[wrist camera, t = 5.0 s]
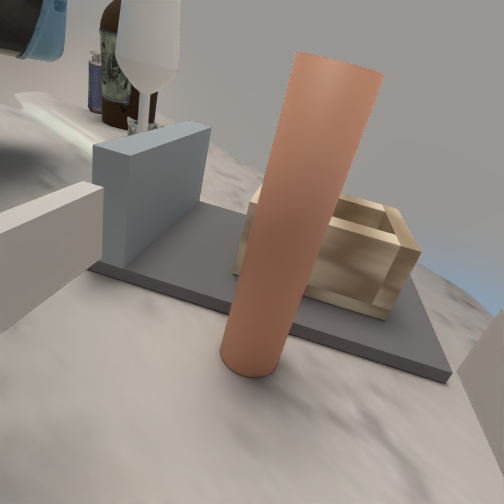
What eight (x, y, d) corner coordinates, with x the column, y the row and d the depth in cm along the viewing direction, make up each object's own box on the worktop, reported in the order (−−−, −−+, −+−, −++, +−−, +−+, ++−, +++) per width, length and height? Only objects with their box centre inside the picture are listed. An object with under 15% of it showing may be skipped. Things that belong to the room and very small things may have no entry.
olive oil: (126, 116, 73) (134, -30, 61) (167, 131, 70) (184, -20, 58) (85, 117, 64) (85, -54, 52) (130, 134, 61) (140, -44, 49)
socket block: (371, 265, 34) (397, 209, 31) (384, 320, 26) (421, 252, 23) (254, 230, 34) (269, 172, 32) (232, 273, 26) (249, 201, 24)
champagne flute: (110, 180, 40) (120, -92, 29) (110, 162, 45) (118, -73, 34) (169, 186, 43) (198, -60, 32) (162, 169, 48) (185, -48, 37)
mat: (400, 269, 37) (404, 261, 36) (445, 383, 23) (452, 373, 22) (173, 202, 39) (174, 193, 38) (85, 268, 25) (85, 256, 24)
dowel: (252, 388, 19) (362, 65, 11) (208, 349, 21) (278, 47, 13) (288, 358, 21) (396, 80, 14) (246, 325, 23) (323, 64, 16)
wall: (199, 201, 38) (211, 127, 34) (123, 268, 24) (130, 155, 20) (178, 194, 38) (189, 120, 35) (91, 258, 24) (92, 144, 20)
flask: (105, 114, 70) (106, 55, 65) (89, 112, 68) (89, 51, 63) (101, 106, 77) (102, 52, 72) (87, 103, 75) (87, 48, 70)
